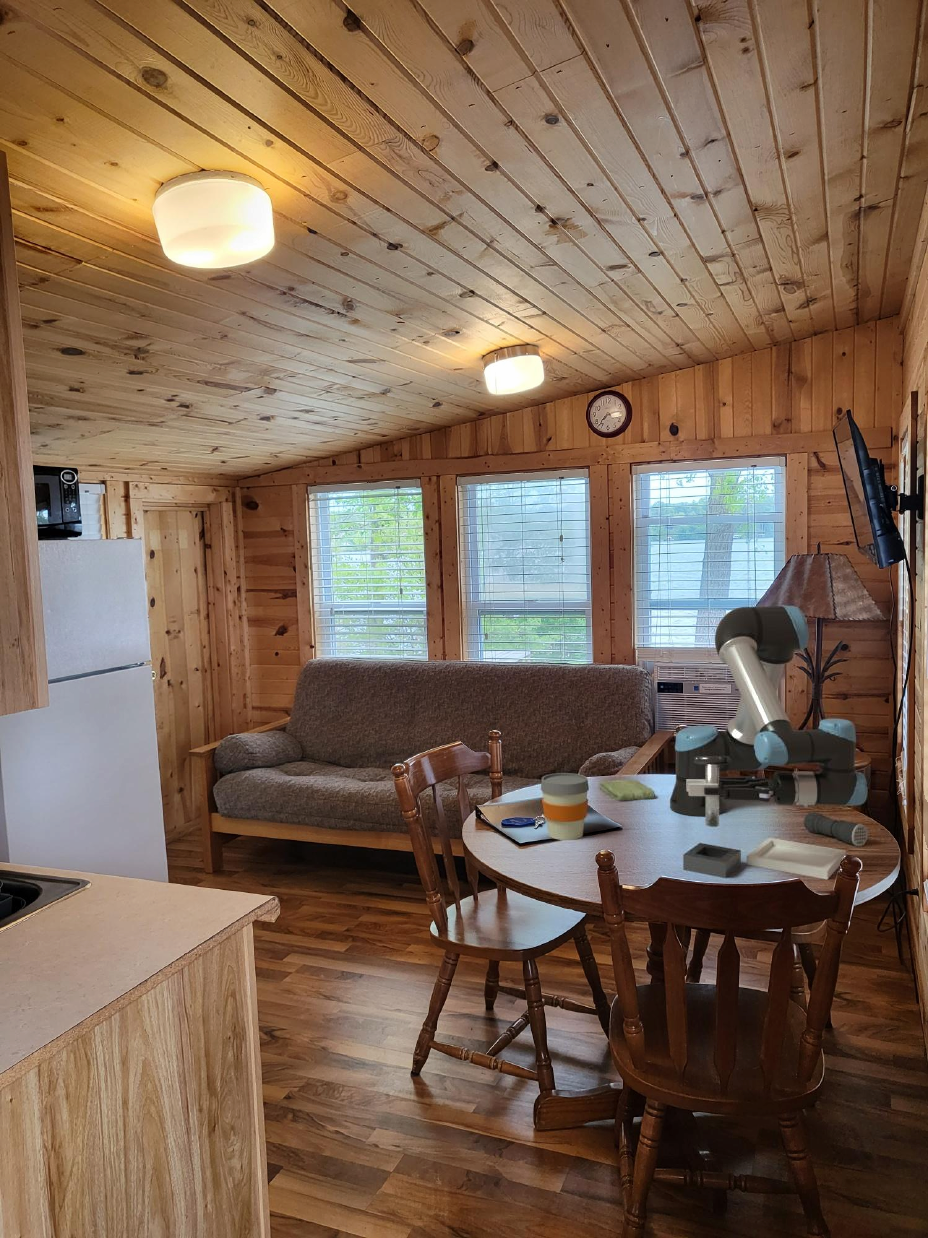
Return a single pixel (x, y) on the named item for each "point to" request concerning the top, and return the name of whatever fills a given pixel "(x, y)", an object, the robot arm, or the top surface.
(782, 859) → the tray
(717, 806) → the chuck key
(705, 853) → the chuck socket block
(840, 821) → the flashlight
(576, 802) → the reusable coffee cup
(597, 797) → the top surface
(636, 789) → the washcloth
